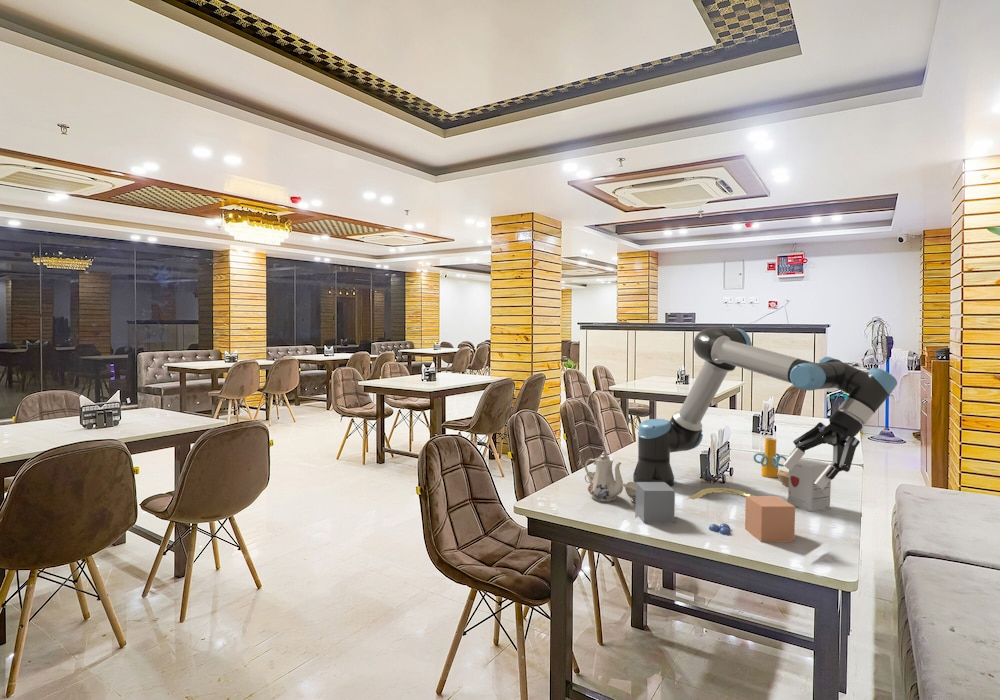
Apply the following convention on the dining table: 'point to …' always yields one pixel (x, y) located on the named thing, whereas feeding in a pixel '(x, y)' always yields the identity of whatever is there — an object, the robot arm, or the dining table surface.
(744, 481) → the dining table surface
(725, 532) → the marble
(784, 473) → the pottery oil lamp
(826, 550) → the dining table surface
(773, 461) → the cylinder
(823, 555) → the dining table surface
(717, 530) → the marble
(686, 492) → the dining table surface
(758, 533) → the orange rectangular block
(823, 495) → the supplement box
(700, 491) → the gold curved band
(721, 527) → the marble
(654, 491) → the gray block
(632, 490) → the chinaware
